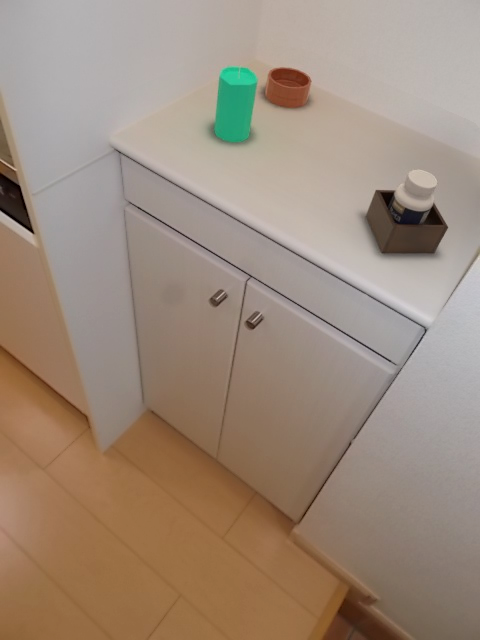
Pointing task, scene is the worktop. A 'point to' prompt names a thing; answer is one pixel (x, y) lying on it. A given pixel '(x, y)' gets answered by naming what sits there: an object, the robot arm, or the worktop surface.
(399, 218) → the pill bottle
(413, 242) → the box
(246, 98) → the candle
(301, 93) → the bowl
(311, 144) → the worktop surface
